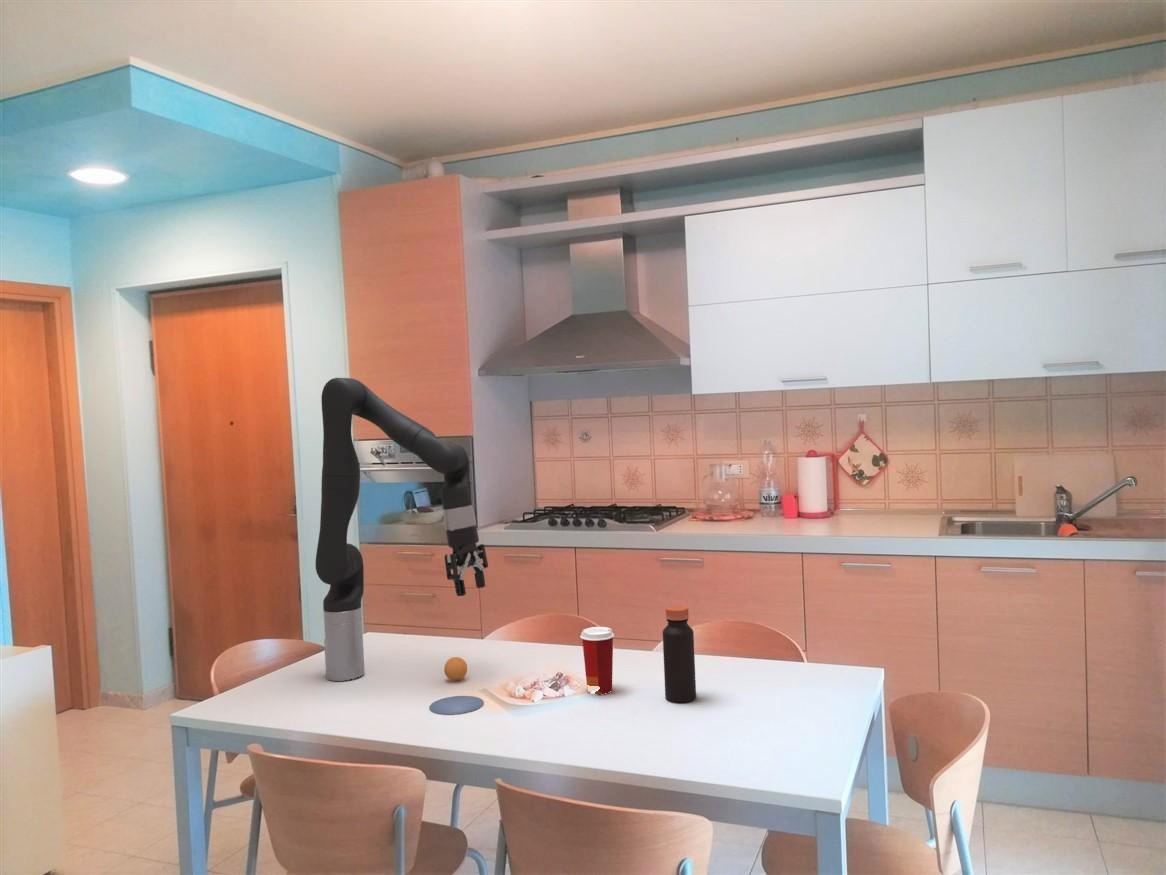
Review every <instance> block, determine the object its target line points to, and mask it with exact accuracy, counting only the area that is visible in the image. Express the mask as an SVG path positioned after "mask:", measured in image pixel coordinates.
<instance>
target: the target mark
mask: <svg viewBox="0 0 1166 875" xmlns="http://www.w3.org/2000/svg"><path fill="white" fill-rule="evenodd" d="M484 703H485V702H484V700H483V699H482V698H480V697H478V696H473V695H454V696H448V697H444V698H440V699H437V700H435V701H432V703H431V704H430V705H429V708H428V709H429V711H430V710H431V711H430V712H432V713H434V714H437V715H443V714H444V715H443V716H445V715H446V716H455V714H457V715H463V714H467V713H468V712H469V713H472V712H475V711H477V710H479V709H480V707H481V708H482V707H483V706H484Z"/></svg>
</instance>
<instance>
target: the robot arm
mask: <svg viewBox="0 0 1166 875" xmlns="http://www.w3.org/2000/svg"><path fill="white" fill-rule="evenodd" d="M321 416H322V427H323V428H322V429H323V430H322V431H323V440H322V441H323V442H322V443H323V444H322V468H321V489H320V491H321V494H320V495H321V498H320V499H321V500H320V501H321V502H320V518H319V519H320V520H319V521H320V522H319V524H320V525H319V533H318V541H317V547H316V555H315V571H316V575H317V577H318V579H319V580H321V582H322V583H324V584H326V585H329V590H328V592H327V594H326V595H325V596H324V599H323V602H322V606H323V609H322V610H323V623H324V624H323V625H324V626H323V627H324V639H323V640H324V641H323V642H324V644H323V645H324V661H325V662H324V663H325V675H326V679H327V680H329V681H334V682H341V681H342V682H344V681H345V680H346V681H351V680H350V679H352V680H356V679H358V678H357V677H359V678H361V677H363V676H365V674H364V673H366V670H365V653H364V652H365V651H364V633H363V632H364V630H363V617H362V615H363V614H362V612H363V611H362V599H363V595H364V586H365V584H364V582H365V581H364V579H365V578H364V576H365V575H364V569H365V568H364V560H363V555H362V552H361V551H360V549H359V548H358V547H356V546H355V545H353V544H352V543H348V529H349V525H350V522H351V520H352V516H353V513H354V510H355V509H356V506H357V503H358V500H359V495H360V490H361V489H360V488H361V466H360V461H359V457H358V454H357V452H356V449H355V446H354V442H353V437H352V425H353V422H352V421H353V420H352V419H353V416H356V417H358V418H362V419H364V420H366V421H368V422H370V423H372V424H374V426H376V427H377V428H378V429H380V430H381V431H382V432H383V433H384V434H385V435H386V437H388V438H390V439H391V440H392V442H394V443H395V444H397V445H399V447H402V448H403V449H405V450H406V451H408V452H410V453H411V454H413V455H415V456H417V457H418V458H419V459H420V460H421V461H422V462H423V463H424V464H426V466H428V467H429V468H431V469H432V470H434V471H435V472H437V473H439V474H442V475H443V478H444V484H443V486H442V487H441V490H440V497H441V503H442V508H443V521H444V528H445V534H446V541H447V546H448V547H449V548H451V549H452V552H451V553H449V554H445V555H444V564H445V565H444V566H445V572H446V578H447V580H448V581H452V582H453V583H454V588H455V594H456V596H457V597H464V596H466V594H467V592H466V585H465V581H464V575H465V573H466V572H467V570H468V568H471V569H472V571H473V572H474V574H473V575H474V579H475V587H476V588H477V589H481V588H485V587H486V579H485V574H484V572H485V571H486V570H485V569H486V568H488V567H489V563H488V558H487V553H486V548H485V544H477V543H479V542H480V539H479V538H480V537H479V532H478V526H477V520H476V515H475V510H474V508H473V503H472V496H471V491H470V479H471V478H470V470H471V469H470V459H469V455H468V453H467V451H466V449H465V448H464V447H463V446H462V445H460V444H456V443H455V444H453V443H451V444H447V443H445V442H443V441H441V440H440V439H439V438H437V437H436V435H435V433H434V432H433V431H432V430H430V429H429V428H427V427H425V426H424V425H422V424H420V422H417V421H415V420H414V419H412V418H410V417H409V416H407V415H405V414H404V413H402V412H400V411H399V410H397V409H396V408H394V407H392V406H391V405H390V404H388V403H387V402H386V401H384V400H383V399H382V398H381V397H379V396H378V395H377V394H376V393H375V392H374V391H372V390H371V389H370V388H369V387H368V386H366V385H365V384H364V383H363V382H361V381H360V380H358V379H355V378H349V377H334V378H331V379H329V380H328V381H327V382H326V383H325V384H324V386H323V389H322V393H321ZM481 559H482V560H481ZM362 675H363V676H362ZM360 676H361V677H360ZM355 678H356V679H355Z"/></svg>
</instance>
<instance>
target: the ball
mask: <svg viewBox="0 0 1166 875" xmlns="http://www.w3.org/2000/svg"><path fill="white" fill-rule="evenodd" d="M443 670H444V675H445V676H446V678H448V679H449V680H451V681H453V682H455V681H457V680H458V681H460V680H462V679H463V678H465V676H466V675H467V672H468V664H467V662H466V660H464V659H463V658H462V657H459V656H454V657H451V658H449V659H447V661H446V662H445V664H444V668H443Z"/></svg>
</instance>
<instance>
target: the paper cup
mask: <svg viewBox="0 0 1166 875" xmlns="http://www.w3.org/2000/svg"><path fill="white" fill-rule="evenodd" d="M614 637H615V634H614V633H613V630H612V628H610V627H606V626H593V627H592V626H591V627H588V628H585V629H582V632H581V634H580V636H579V638H581V640H582V650H583V660H584V671H585V679H586V681H585V682H586V686H587V685H589V686H599V687H600V689H599V690H598V691H596V692H595V694H604V695H606V694H605V693H608V692H610V691H612V692H613V663H614V662H613V659H614V655H613V654H614ZM610 693H611V692H610ZM608 694H609V693H608Z"/></svg>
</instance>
